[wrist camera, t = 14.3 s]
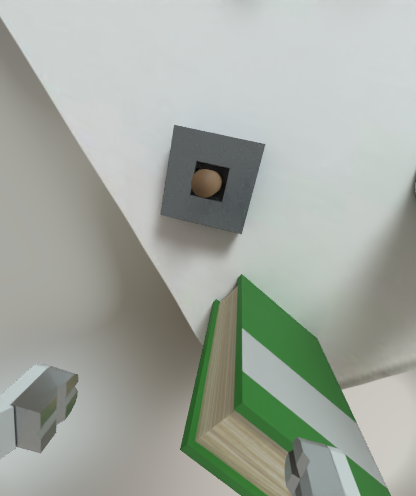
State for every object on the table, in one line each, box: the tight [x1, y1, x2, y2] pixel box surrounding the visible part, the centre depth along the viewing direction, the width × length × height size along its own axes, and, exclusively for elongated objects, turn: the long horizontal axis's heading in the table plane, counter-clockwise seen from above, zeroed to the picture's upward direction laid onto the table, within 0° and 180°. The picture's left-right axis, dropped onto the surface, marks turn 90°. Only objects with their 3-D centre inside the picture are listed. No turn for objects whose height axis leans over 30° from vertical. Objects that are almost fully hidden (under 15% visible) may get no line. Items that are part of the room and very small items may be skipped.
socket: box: [161, 125, 265, 234], centre depth 35 cm, size 12×12×4 cm
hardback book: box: [180, 274, 391, 496], centre depth 31 cm, size 18×7×24 cm, turn 50°
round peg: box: [191, 169, 224, 198], centre depth 32 cm, size 3×3×9 cm
